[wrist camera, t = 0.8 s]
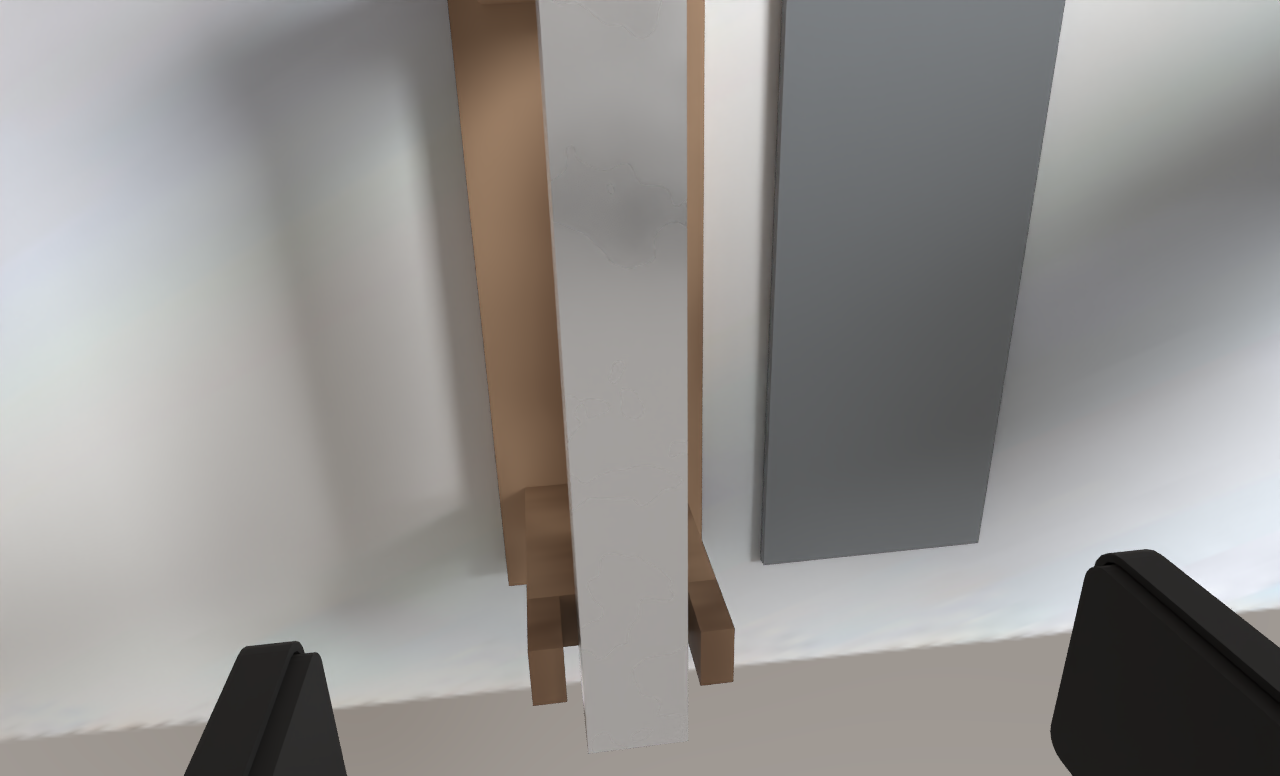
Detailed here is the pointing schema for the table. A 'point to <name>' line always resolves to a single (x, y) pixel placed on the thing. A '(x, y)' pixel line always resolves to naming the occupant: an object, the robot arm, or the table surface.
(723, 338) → the table surface
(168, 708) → the table surface
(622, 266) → the steel rail
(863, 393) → the rubber mat
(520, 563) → the walnut rail stand
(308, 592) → the table surface
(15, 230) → the table surface
